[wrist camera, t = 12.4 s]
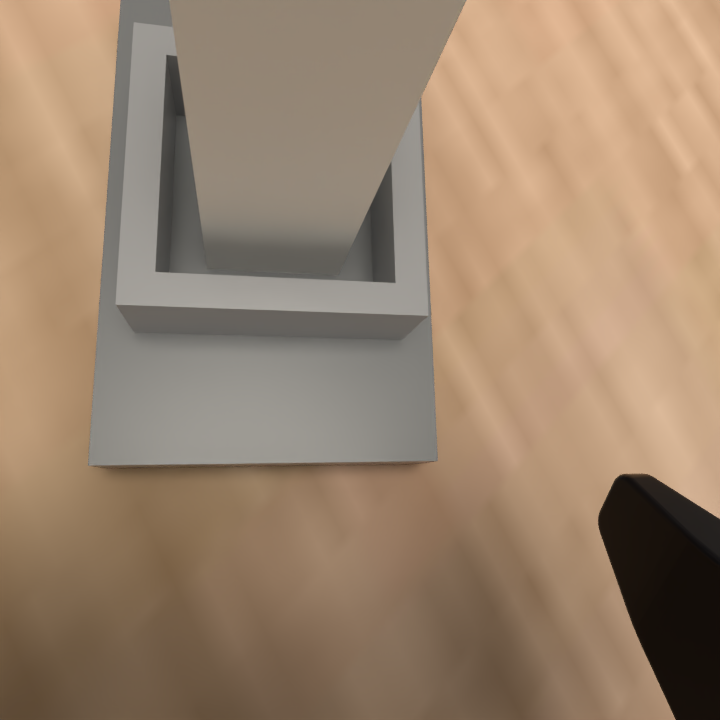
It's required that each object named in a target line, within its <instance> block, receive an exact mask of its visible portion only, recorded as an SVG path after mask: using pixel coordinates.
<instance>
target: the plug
mask: <svg viewBox="0 0 720 720" xmlns="http://www.w3.org/2000/svg"><path fill="white" fill-rule="evenodd" d="M465 2H466V0H169V3H170V10H171V17H172V24H173V31H174V38H175V45H176V52H177V59H178V66H179V73H180V80H181V87H182V94H183V101H184V108H185V115H186V122H187V129H188V136H189V143H190V150H191V157H192V165H193V172H194V179H195V186H196V193H197V200H198V207H199V214H200V221H201V228H202V235H203V242H204V249H205V256H206V263H207V269H225V270H246V271H266V272H286V273H307V274H327V275H338V274H339V272H340V269H341V267H342V265H343V263H344V261H345V259H346V257H347V254H348V252H349V250H350V248H351V246H352V244H353V242H354V240H355V237H356V235H357V233H358V231H359V229H360V227H361V225H362V222H363V220H364V218H365V216H366V214H367V212H368V210H369V207H370V205H371V203H372V201H373V199H374V197H375V195H376V192H377V190H378V188H379V186H380V184H381V182H382V180H383V177H384V175H385V173H386V171H387V169H388V167H389V165H390V162H391V160H392V158H393V156H394V154H395V152H396V150H397V147H398V145H399V143H400V141H401V139H402V137H403V135H404V133H405V130H406V128H407V126H408V124H409V122H410V120H411V118H412V115H413V113H414V111H415V109H416V107H417V105H418V103H419V100H420V98H421V96H422V94H423V92H424V90H425V88H426V85H427V83H428V81H429V79H430V77H431V75H432V73H433V70H434V68H435V66H436V64H437V62H438V60H439V58H440V55H441V53H442V51H443V49H444V47H445V45H446V43H447V41H448V38H449V36H450V34H451V32H452V30H453V28H454V26H455V23H456V21H457V19H458V17H459V15H460V13H461V11H462V8H463V6H464V4H465Z"/></svg>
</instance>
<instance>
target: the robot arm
mask: <svg viewBox="0 0 720 720" xmlns="http://www.w3.org/2000/svg"><path fill="white" fill-rule="evenodd" d="M598 525H599V530H600V534H601V536H602V539H603V542H604V545H605V548H606V551H607V554H608V556H609V559H610V562H611V565H612V568H613V571H614V574H615V576H616V579H617V582H618V585H619V588H620V591H621V594H622V596H623V599H624V602H625V605H626V608H627V611H628V613H629V616H630V619H631V621H632V624H633V627H634V629H635V632H636V634H637V636H638V638H639V641H640V643H641V645H642V648H643V650H644V652H645V654H646V656H647V658H648V661H649V663H650V665H651V667H652V669H653V671H654V674H655V676H656V678H657V680H658V682H659V684H660V687H661V689H662V691H663V693H664V695H665V697H666V700H667V702H668V704H669V706H670V708H671V710H672V713H673V715H674V717H675V719H676V720H720V519H719V518H717V517H716V516H714V515H712V514H711V513H709V512H708V511H706V510H705V509H703V508H701V507H700V506H698V505H697V504H695V503H693V502H692V501H690V500H689V499H687V498H686V497H684V496H682V495H681V494H679V493H678V492H676V491H675V490H673V489H671V488H670V487H668V486H667V485H665V484H663V483H662V482H660V481H659V480H657V479H656V478H654V477H652V476H650V475H648V474H622V475H620V476H618V477H617V478H616V479H615V481H614V483H613V485H612V487H611V489H610V491H609V493H608V495H607V497H606V500H605V502H604V504H603V506H602V508H601V510H600V513H599V517H598Z"/></svg>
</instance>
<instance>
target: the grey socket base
mask: <svg viewBox="0 0 720 720" xmlns="http://www.w3.org/2000/svg"><path fill="white" fill-rule="evenodd" d="M434 461H438V456H437V434H436V412H435V391H434V369H433V347H432V325H431V304H430V282H429V260H428V238H427V216H426V195H425V173H424V151H423V129H422V107H421V98H420V100H419V103H418V105H417V107H416V109H415V111H414V113H413V115H412V118H411V120H410V122H409V124H408V126H407V128H406V130H405V133H404V135H403V137H402V139H401V141H400V143H399V145H398V147H397V150H396V152H395V154H394V156H393V158H392V160H391V162H390V165H389V167H388V169H387V171H386V173H385V175H384V177H383V180H382V182H381V184H380V186H379V188H378V190H377V192H376V195H375V197H374V199H373V201H372V203H371V205H370V207H369V210H368V212H367V214H366V216H365V218H364V220H363V222H362V225H361V227H360V229H359V231H358V233H357V235H356V237H355V240H354V242H353V244H352V246H351V248H350V250H349V252H348V254H347V257H346V259H345V261H344V263H343V265H342V267H341V269H340V272H339V274H338V275H327V274H307V273H286V272H266V271H246V270H225V269H207V263H206V256H205V249H204V242H203V235H202V228H201V221H200V214H199V207H198V200H197V193H196V186H195V179H194V172H193V165H192V157H191V150H190V143H189V136H188V129H187V122H186V115H185V108H184V101H183V94H182V87H181V80H180V73H179V66H178V59H177V52H176V45H175V38H174V31H173V24H172V17H171V10H170V3H169V0H121V4H120V18H119V32H118V47H117V61H116V75H115V89H114V104H113V118H112V132H111V146H110V160H109V175H108V189H107V203H106V217H105V231H104V246H103V260H102V274H101V288H100V302H99V317H98V331H97V345H96V359H95V373H94V388H93V402H92V416H91V430H90V444H89V459H88V466H94V467H101V468H150V467H222V466H294V465H366V464H419V463H427V462H434Z"/></svg>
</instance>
